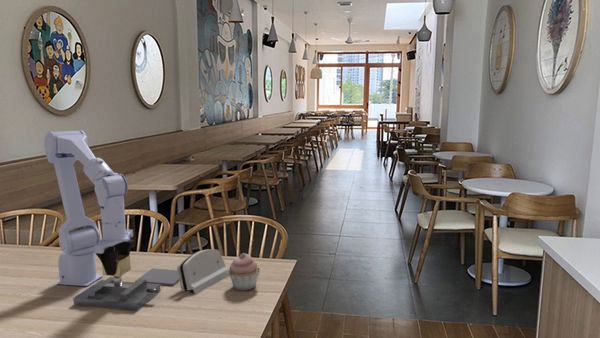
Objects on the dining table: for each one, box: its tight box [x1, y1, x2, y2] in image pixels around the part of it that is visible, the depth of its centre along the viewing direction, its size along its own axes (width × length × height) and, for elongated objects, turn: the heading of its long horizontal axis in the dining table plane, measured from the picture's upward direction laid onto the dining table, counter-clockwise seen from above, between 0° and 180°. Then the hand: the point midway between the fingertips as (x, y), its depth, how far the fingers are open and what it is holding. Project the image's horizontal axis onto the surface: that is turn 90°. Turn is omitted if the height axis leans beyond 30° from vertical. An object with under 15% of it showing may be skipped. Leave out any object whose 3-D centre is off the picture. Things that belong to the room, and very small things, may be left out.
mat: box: [134, 268, 180, 287], centre depth 135 cm, size 12×10×1 cm
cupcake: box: [227, 252, 261, 291], centre depth 128 cm, size 9×9×10 cm
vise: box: [73, 276, 162, 312], centre depth 121 cm, size 20×12×6 cm, turn 80°
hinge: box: [176, 248, 230, 295], centre depth 132 cm, size 17×5×10 cm, turn 152°
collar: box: [101, 254, 131, 277], centre depth 120 cm, size 5×5×4 cm
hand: (116, 270), depth 120 cm, fingers closed on collar, 5 cm apart
